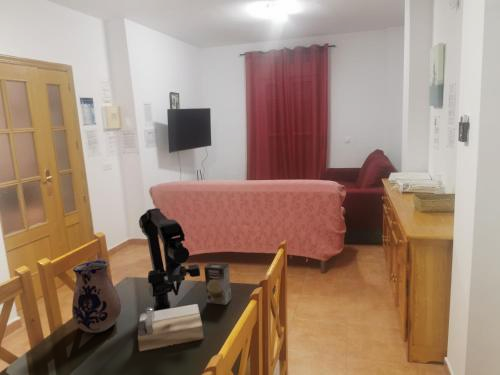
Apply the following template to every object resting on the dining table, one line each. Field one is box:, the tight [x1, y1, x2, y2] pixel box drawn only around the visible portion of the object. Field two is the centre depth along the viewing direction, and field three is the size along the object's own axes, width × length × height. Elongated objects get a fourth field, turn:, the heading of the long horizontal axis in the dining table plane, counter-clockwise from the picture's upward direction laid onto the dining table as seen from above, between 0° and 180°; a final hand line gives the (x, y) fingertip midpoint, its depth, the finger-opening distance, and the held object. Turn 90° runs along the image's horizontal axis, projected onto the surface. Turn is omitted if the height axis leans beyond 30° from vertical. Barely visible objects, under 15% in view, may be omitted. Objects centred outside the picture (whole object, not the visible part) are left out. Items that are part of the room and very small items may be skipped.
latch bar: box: [144, 306, 155, 334], centre depth 138 cm, size 14×3×3 cm, turn 14°
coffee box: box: [203, 261, 232, 306], centre depth 164 cm, size 9×6×16 cm
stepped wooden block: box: [137, 313, 204, 352], centre depth 138 cm, size 10×22×8 cm, turn 103°
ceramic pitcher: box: [71, 258, 122, 334], centre depth 150 cm, size 18×21×25 cm
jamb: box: [139, 303, 200, 323], centre depth 147 cm, size 8×22×5 cm, turn 103°
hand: (176, 295), depth 144 cm, fingers closed
